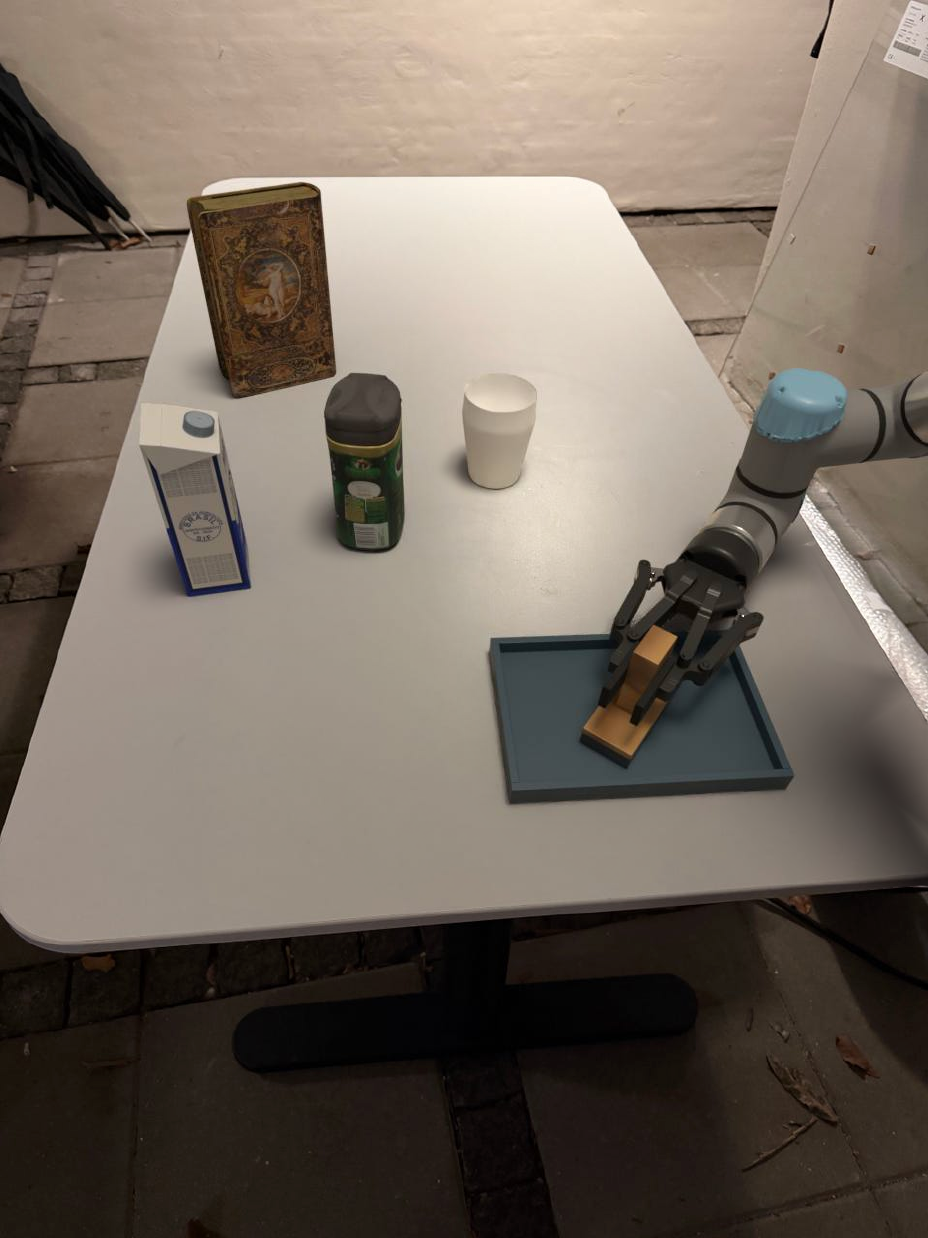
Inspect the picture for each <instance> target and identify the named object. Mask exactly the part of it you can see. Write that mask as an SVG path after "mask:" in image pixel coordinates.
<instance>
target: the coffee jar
mask: <svg viewBox="0 0 928 1238" xmlns="http://www.w3.org/2000/svg"><path fill="white" fill-rule="evenodd" d="M402 402H403V399H402V397H401V392H400V389H399V387H398V385H396V383H394V382H393V381H392V380H391V379H389V377H388V376H387V375H384V374H377V373H367V372H349V374H348V375H346V376H344V377H343V378H341V379H340V380H338V381H337V382H336V383H335V384H334V385H333V387H332V388H331V389H330V392H329V394H328V396H327V399H326V402H325V406H324V409H323V410H324V411H323V418H324V428H325V437H326V442H327V448H328V455H329V462H330V472H331V482H332V492H333V502H334V504H333V505H334V514H335V524H336V525H335V526H336V534H337V537H338V539H339V541H340V542H341V543H342V544H344V545H345V546H348V547H350V548H354V549H357V550H363V551H378V550H385V549H388V548H390V547H393V546H394V545H396V543H397V542H399V541H398V540H399V539H400V537H401V535H402V531H403V527H404V523H405V512H406V511H405V510H406V509H405V487H404V485H405V483H404V455H403V453H404V452H403V419H402V418H403V416H402V415H403V414H402V411H403V410H402Z"/></svg>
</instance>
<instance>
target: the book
mask: <svg viewBox="0 0 928 1238" xmlns="http://www.w3.org/2000/svg"><path fill="white" fill-rule="evenodd" d="M322 202H323V201H322V191H321V189H320V188H319V187H318V186H316V185H315V184H312V183H310V182H306V181H305V182H304V181H298V182H290V183H284V184H276V185H268V186H260V187H255V188H247V189H240V190H233V191H232V190H231V191H227V192H226V191H225V192H219V193H218V192H217V193H211V194H204V195H203V194H202V195H197V196H190V197H188V198H187V200H186V210H187V215H188V220H189V225H190V230H191V236H192V241H193V245H194V250H195V255H196V260H197V264H198V265H197V266H198V269H199V275H200V279H201V285H202V290H203V294H204V295H203V296H204V299H205V303H206V309H207V313H208V319H209V324H210V328H211V333H212V338H213V343H214V348H215V352H216V357H217V362H218V368H219V371H220V374H221V376H222V377H223V379H224V380H226V381H229V386H230V389H231V392H232V394H233V395H234V396H235V397H236V398H244V397H249V396H255V395H259V394H264V393H268V392H273V391H277V390H282V389H286V388H289V387H293V386H294V387H295V386H299V385H303V384H308V383H310V382H315V381H320V380H323V379H329V378H332V377H335V376H336V374H337V363H336V353H335V350H336V349H335V339H334V329H333V328H334V327H333V317H332V305H331V293H330V284H329V283H330V282H329V271H328V261H327V260H328V259H327V249H326V238H325V237H326V236H325V226H324V214H323V213H324V212H323V203H322Z"/></svg>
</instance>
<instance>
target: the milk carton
mask: <svg viewBox="0 0 928 1238" xmlns="http://www.w3.org/2000/svg"><path fill="white" fill-rule="evenodd" d="M221 425H222V424H221V421H220V416H219V412H218V411H212V410H206V409H201V408H194V407H187V406H180V405H174V404H167V403H151V402H141V403H140V421H139V433H138V446H139V448H140V452H141V454H142V459H143V461H144V465H145V467H146V470H147V474H148V476H149V480H150V484H151V487H152V489H153V492H154V496H155V499H156V502H157V505H158V508H159V511H160V514H161V518H162V521H163V523H164V524H163V525H164V526H165V530H166V534H167V537H168V539H169V540H168V541H169V542H170V545H171V550H172V552H173V555H174V558H175V561H176V564H177V567H178V571H179V574H180V577H181V580H182V582H183V587H184V589H185V592H186V595H187V597H188V598H190V597H197V596H204V595H205V596H206V595H211V594H212V595H213V594H220V593H226V592H234V591H242V590H248V589H249V590H250V589H252V583H251V571H250V570H251V569H250V558H249V547H248V542H247V537H246V533H245V529H244V523H243V520H242V516H241V515H242V514H241V511H240V506H239V502H238V498H237V493H236V489H235V483H234V479H233V475H232V471H231V466H230V461H229V458H228V451H227V448H226V443H225V438H224V434H223V430H222V426H221Z"/></svg>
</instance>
